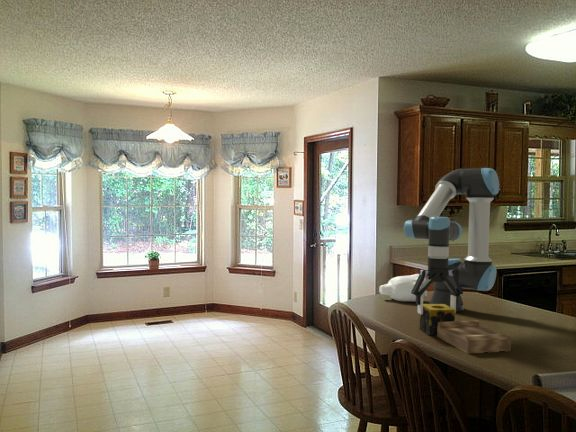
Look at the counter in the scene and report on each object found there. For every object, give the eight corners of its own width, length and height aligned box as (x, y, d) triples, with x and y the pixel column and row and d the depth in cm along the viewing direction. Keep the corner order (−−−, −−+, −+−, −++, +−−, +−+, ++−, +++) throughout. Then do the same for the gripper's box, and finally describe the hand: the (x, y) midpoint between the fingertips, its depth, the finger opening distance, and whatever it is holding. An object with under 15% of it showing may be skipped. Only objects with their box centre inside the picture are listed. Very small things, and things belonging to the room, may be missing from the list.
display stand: (476, 334, 185) (476, 320, 185) (510, 351, 166) (511, 334, 166) (437, 336, 182) (437, 321, 182) (467, 353, 163) (467, 336, 162)
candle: (418, 329, 193) (419, 303, 193) (444, 328, 194) (444, 303, 194) (428, 336, 183) (429, 309, 183) (455, 336, 184) (455, 309, 184)
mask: (381, 301, 257) (431, 301, 249) (377, 303, 243) (430, 302, 235) (380, 274, 258) (430, 273, 250) (376, 274, 245) (428, 273, 237)
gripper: (462, 256, 194) (460, 310, 194) (403, 256, 189) (401, 311, 189) (473, 258, 186) (471, 314, 187) (412, 258, 181) (410, 316, 182)
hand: (436, 313), depth 188 cm, fingers open, 13 cm apart
